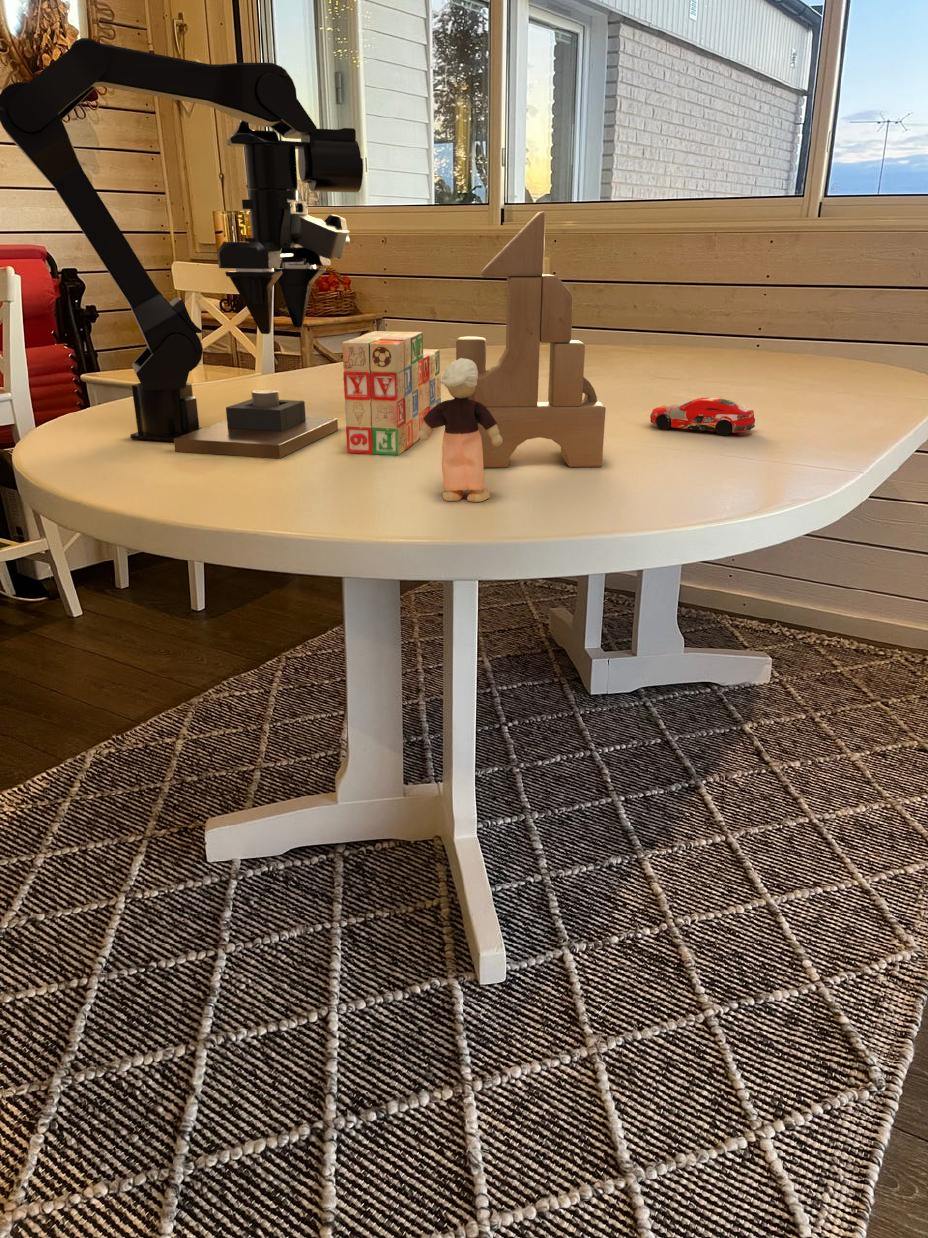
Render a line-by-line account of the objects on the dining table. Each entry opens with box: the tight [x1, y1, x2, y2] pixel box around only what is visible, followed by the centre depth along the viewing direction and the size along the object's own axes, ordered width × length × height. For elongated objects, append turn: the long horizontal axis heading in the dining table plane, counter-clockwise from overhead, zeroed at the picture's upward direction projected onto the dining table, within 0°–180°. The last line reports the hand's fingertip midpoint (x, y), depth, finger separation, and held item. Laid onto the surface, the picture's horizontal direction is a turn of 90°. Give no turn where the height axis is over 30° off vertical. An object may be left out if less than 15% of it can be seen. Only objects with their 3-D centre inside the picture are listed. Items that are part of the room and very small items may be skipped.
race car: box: [649, 397, 756, 437], centre depth 117 cm, size 13×5×4 cm, turn 60°
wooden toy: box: [455, 211, 607, 469], centre depth 96 cm, size 15×7×25 cm, turn 93°
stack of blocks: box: [341, 330, 442, 456], centre depth 110 cm, size 21×6×12 cm, turn 168°
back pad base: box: [173, 388, 339, 459], centre depth 109 cm, size 13×17×6 cm
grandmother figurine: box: [418, 358, 503, 503], centre depth 84 cm, size 8×4×13 cm, turn 91°
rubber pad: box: [225, 398, 306, 432], centre depth 111 cm, size 7×7×2 cm
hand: (282, 330), depth 113 cm, fingers open, 9 cm apart
